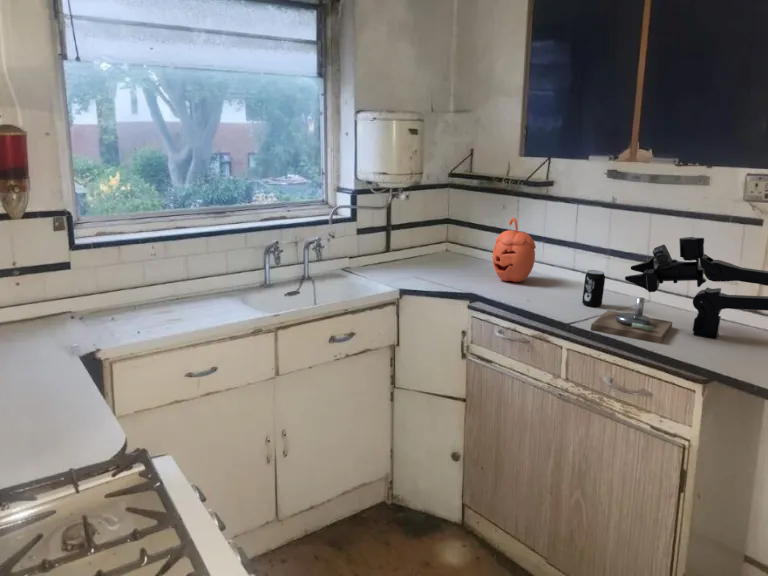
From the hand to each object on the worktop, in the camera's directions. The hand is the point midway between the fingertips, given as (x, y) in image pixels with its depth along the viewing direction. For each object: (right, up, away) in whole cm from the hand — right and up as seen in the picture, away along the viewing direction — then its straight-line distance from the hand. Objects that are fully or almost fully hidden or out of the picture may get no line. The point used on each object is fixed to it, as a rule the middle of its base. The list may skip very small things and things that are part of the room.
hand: (628, 273), depth 216 cm
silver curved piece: (0, -15, -5) cm, 16 cm away
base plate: (-1, -17, -6) cm, 18 cm away
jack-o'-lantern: (-27, -2, +52) cm, 59 cm away
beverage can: (-5, -11, +20) cm, 24 cm away
